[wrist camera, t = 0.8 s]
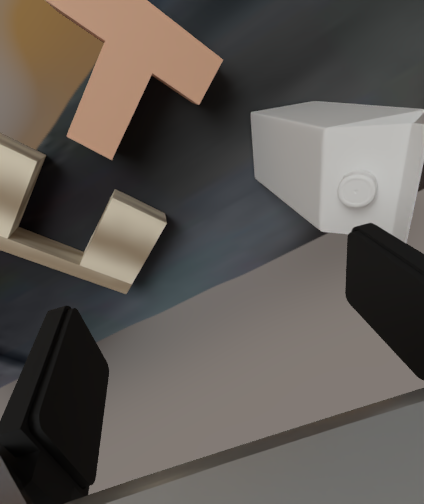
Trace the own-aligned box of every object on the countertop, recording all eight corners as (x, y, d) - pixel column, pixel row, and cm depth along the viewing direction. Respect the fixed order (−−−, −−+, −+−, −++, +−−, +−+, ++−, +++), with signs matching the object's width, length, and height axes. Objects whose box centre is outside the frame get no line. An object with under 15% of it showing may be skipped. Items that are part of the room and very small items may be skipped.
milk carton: (313, 100, 32) (490, 113, 16) (311, 167, 36) (455, 234, 19) (249, 111, 31) (365, 137, 15) (254, 178, 35) (352, 258, 19)
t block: (75, -43, 24) (63, -65, 20) (213, 63, 29) (223, 59, 25) (25, 103, 27) (8, 105, 24) (155, 173, 33) (156, 183, 29)
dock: (-24, 120, 27) (-42, 124, 25) (164, 213, 35) (166, 223, 32) (-52, 213, 30) (-70, 225, 28) (127, 280, 38) (126, 294, 35)
